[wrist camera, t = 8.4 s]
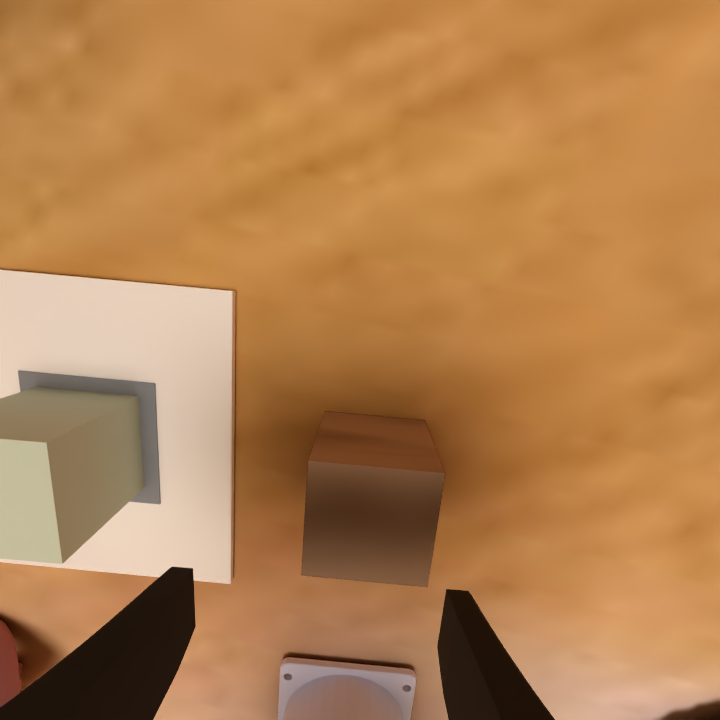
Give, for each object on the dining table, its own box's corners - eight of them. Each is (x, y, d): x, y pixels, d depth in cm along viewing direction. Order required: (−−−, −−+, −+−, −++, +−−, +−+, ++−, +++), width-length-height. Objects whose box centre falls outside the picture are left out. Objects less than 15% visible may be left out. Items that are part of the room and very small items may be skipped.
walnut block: (412, 507, 19) (427, 587, 14) (319, 498, 19) (301, 575, 14) (424, 419, 18) (445, 473, 13) (324, 410, 18) (307, 460, 13)
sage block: (144, 487, 18) (62, 564, 13) (48, 479, 18) (-69, 552, 13) (138, 395, 17) (46, 442, 12) (35, 386, 17) (-97, 430, 12)
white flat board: (233, 577, 20) (229, 585, 19) (-13, 554, 20) (-22, 561, 20) (235, 290, 16) (231, 291, 16) (-65, 263, 16) (-78, 262, 16)
